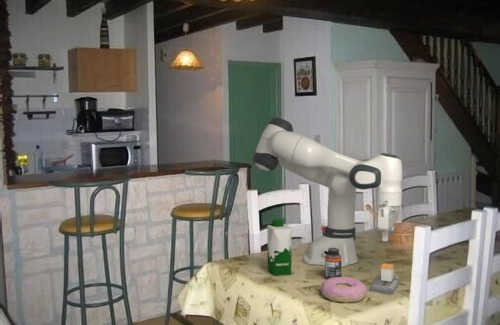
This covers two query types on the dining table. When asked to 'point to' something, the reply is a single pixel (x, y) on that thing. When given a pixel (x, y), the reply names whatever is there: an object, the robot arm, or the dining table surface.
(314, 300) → the dining table surface
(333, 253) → the supplement bottle
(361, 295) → the donut
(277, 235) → the milk carton
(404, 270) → the dining table surface
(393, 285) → the console
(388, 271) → the fader knob
